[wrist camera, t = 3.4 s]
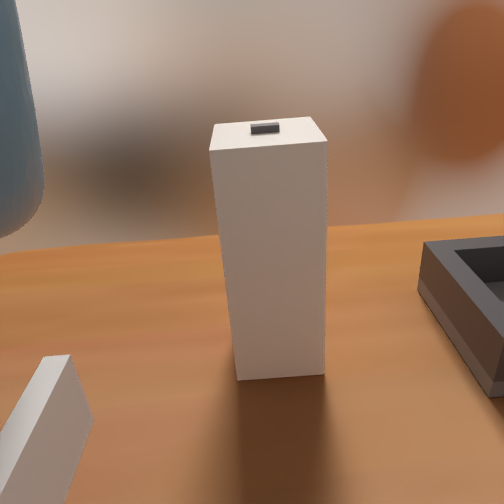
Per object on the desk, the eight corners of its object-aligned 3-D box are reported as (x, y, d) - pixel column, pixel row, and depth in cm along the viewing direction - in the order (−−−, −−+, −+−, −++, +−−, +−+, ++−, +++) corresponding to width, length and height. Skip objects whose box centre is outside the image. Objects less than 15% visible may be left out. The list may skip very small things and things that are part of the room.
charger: (237, 380, 22) (207, 142, 16) (237, 325, 26) (213, 117, 20) (324, 374, 22) (327, 133, 16) (311, 319, 26) (310, 110, 20)
